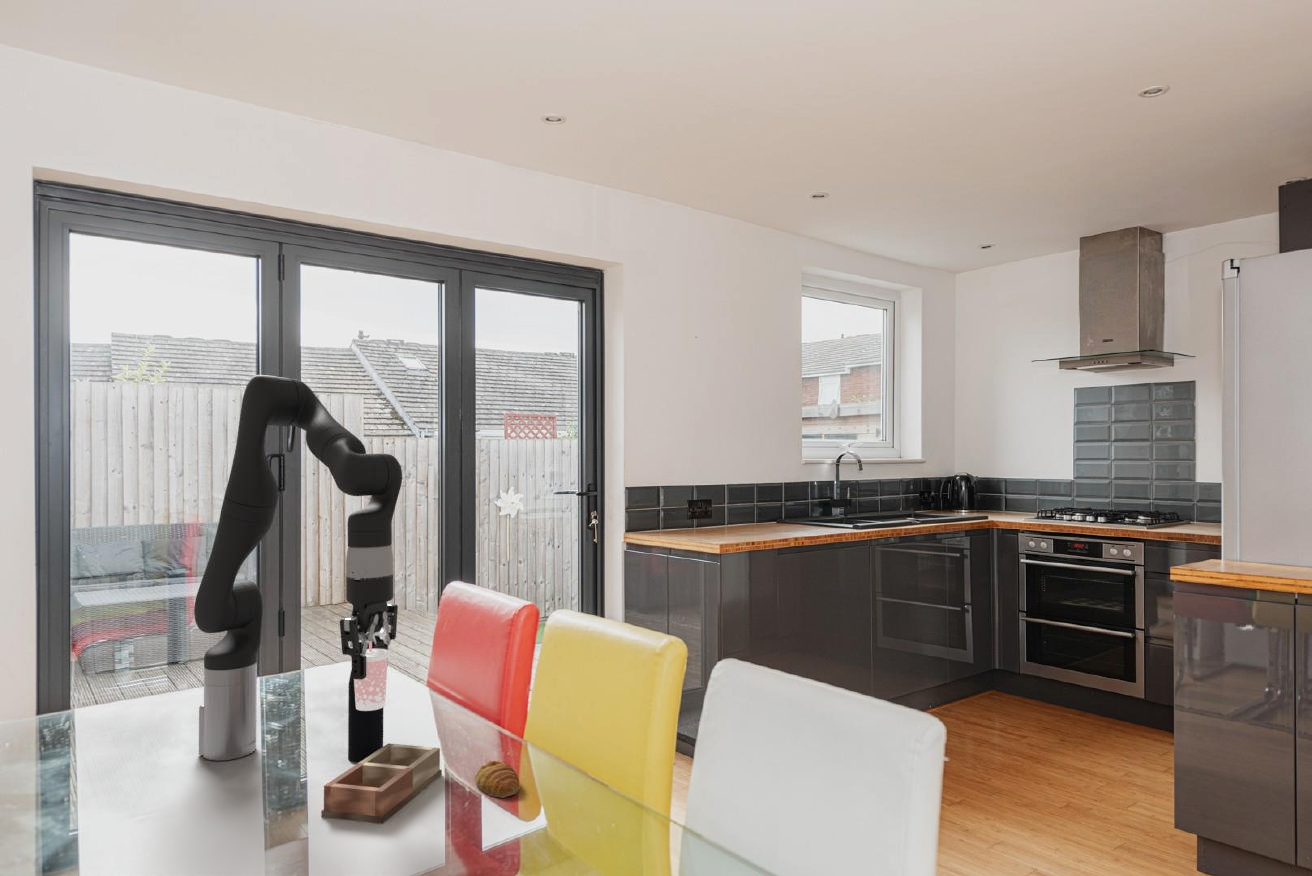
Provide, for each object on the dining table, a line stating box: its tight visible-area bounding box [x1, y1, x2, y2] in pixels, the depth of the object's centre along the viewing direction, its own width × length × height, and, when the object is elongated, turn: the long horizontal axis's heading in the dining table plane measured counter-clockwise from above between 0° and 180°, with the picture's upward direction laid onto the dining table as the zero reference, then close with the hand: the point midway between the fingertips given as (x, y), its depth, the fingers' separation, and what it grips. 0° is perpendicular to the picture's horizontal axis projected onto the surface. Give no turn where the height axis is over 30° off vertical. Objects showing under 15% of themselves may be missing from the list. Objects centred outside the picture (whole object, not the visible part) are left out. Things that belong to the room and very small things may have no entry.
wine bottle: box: [347, 634, 384, 764], centre depth 160 cm, size 6×6×30 cm
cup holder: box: [320, 743, 443, 825], centre depth 143 cm, size 11×20×5 cm, turn 168°
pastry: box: [475, 760, 521, 799], centre depth 145 cm, size 9×7×4 cm
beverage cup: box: [350, 641, 390, 711], centre depth 138 cm, size 6×6×14 cm
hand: (370, 673), depth 138 cm, fingers closed on beverage cup, 6 cm apart
